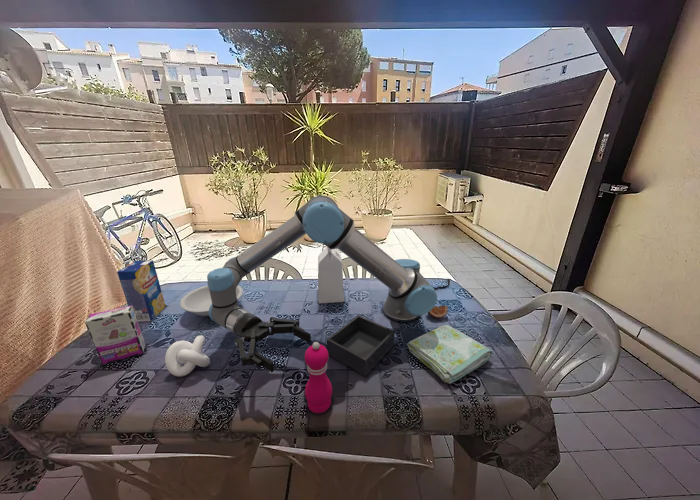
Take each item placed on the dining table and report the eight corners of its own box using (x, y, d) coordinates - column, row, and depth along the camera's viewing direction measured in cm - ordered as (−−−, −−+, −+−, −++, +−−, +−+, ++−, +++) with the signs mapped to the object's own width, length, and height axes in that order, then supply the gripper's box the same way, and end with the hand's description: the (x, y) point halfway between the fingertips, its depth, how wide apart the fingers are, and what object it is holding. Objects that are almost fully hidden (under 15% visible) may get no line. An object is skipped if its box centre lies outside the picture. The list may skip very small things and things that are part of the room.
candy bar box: (146, 344, 95) (133, 304, 90) (143, 353, 91) (130, 312, 86) (105, 355, 91) (89, 313, 85) (101, 365, 86) (83, 321, 81)
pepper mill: (328, 417, 69) (325, 355, 62) (301, 412, 71) (296, 350, 64) (335, 394, 76) (333, 335, 69) (311, 389, 77) (306, 331, 70)
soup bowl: (251, 313, 114) (249, 299, 111) (186, 333, 101) (182, 318, 99) (237, 290, 132) (235, 278, 130) (181, 305, 120) (177, 292, 117)
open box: (358, 328, 104) (358, 315, 102) (394, 345, 95) (394, 330, 93) (327, 354, 91) (326, 339, 89) (365, 376, 82) (365, 360, 80)
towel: (404, 350, 92) (405, 338, 90) (447, 330, 102) (449, 319, 100) (446, 389, 77) (449, 375, 76) (492, 361, 87) (495, 348, 86)
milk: (318, 290, 132) (315, 239, 123) (341, 289, 133) (341, 238, 124) (318, 303, 121) (315, 248, 112) (344, 301, 122) (343, 247, 113)
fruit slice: (443, 311, 114) (444, 301, 113) (449, 321, 108) (451, 310, 106) (423, 312, 114) (424, 302, 112) (428, 321, 108) (430, 311, 106)
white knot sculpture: (183, 353, 91) (177, 331, 88) (220, 351, 92) (215, 329, 89) (164, 379, 81) (156, 355, 78) (205, 377, 81) (199, 353, 78)
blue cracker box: (165, 306, 119) (153, 260, 111) (151, 320, 109) (136, 271, 101) (149, 307, 118) (135, 260, 111) (133, 322, 108) (116, 272, 100)
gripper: (277, 316, 96) (322, 338, 84) (208, 357, 77) (255, 394, 65) (275, 297, 93) (322, 318, 82) (203, 335, 74) (251, 369, 62)
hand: (292, 352), depth 73 cm, fingers open, 13 cm apart
